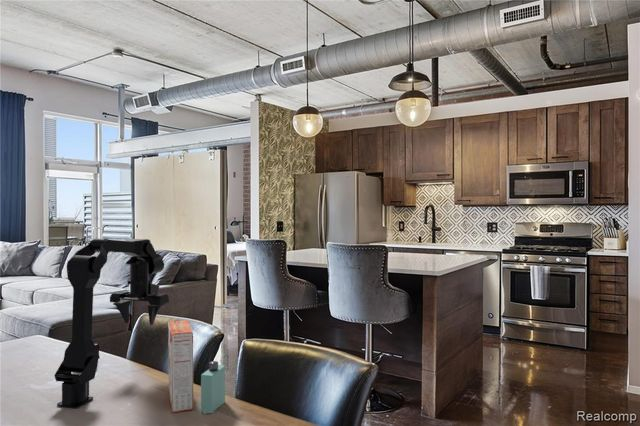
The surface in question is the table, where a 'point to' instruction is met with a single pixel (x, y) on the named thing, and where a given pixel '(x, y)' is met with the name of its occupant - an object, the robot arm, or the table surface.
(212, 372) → the teal flask bottle
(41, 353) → the table surface
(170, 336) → the cracker box
